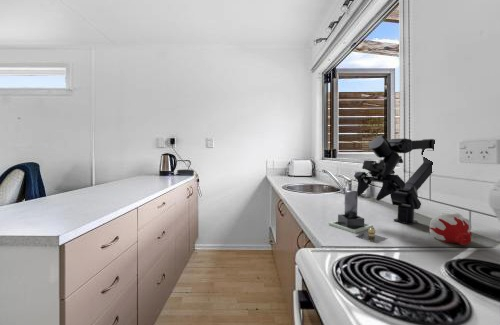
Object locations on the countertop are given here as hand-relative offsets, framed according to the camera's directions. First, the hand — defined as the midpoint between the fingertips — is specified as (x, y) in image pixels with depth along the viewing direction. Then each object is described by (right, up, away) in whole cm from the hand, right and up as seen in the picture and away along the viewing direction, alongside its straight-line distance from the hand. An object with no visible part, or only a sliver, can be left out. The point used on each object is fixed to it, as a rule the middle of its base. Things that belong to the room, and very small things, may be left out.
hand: (366, 197), depth 90 cm
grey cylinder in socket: (-6, -11, 0) cm, 13 cm away
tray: (-6, -12, 0) cm, 13 cm away
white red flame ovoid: (+20, -12, -14) cm, 27 cm away
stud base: (-5, -12, -12) cm, 18 cm away
